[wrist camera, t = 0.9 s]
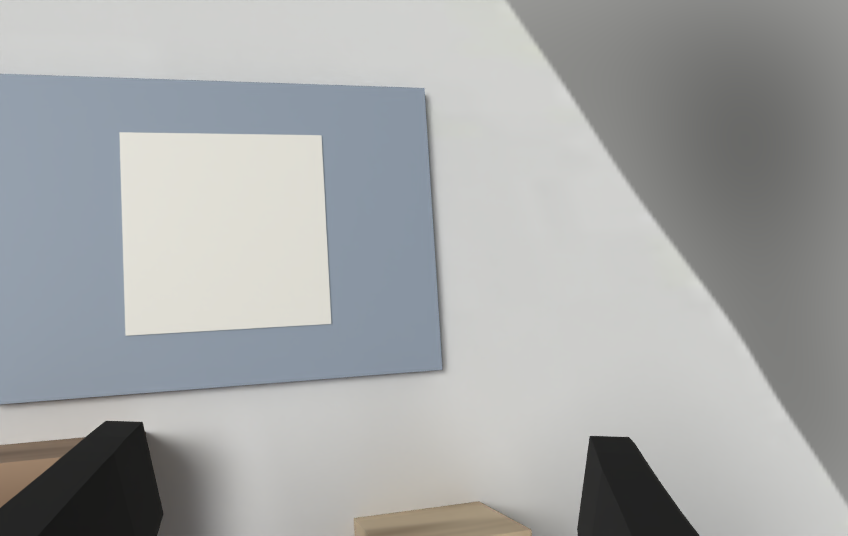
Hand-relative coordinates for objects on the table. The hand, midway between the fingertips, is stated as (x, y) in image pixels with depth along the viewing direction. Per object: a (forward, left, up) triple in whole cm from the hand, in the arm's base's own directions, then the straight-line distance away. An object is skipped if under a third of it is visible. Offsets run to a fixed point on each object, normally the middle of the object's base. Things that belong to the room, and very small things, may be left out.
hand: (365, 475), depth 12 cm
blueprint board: (+6, +1, -14) cm, 15 cm away
